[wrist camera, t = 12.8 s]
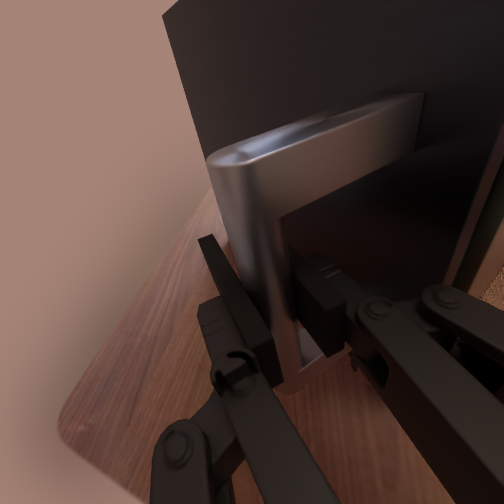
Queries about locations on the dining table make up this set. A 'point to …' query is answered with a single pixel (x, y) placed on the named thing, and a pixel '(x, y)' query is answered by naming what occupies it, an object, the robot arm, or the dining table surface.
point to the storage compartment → (484, 244)
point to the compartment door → (343, 141)
